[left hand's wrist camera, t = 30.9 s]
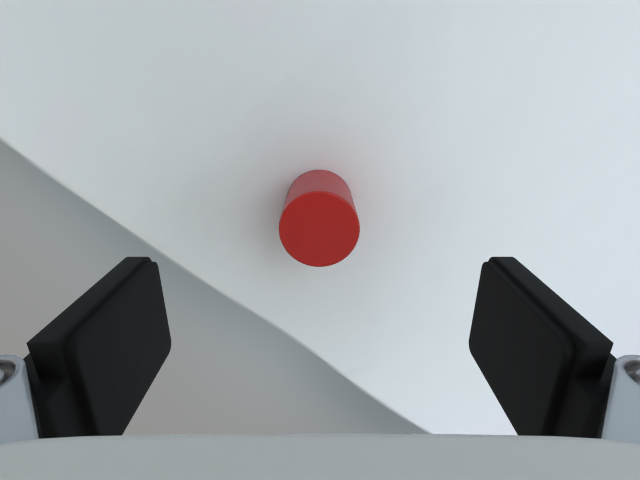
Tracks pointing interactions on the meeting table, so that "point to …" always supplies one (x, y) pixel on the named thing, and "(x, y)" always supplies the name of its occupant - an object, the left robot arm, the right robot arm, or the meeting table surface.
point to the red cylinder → (319, 219)
